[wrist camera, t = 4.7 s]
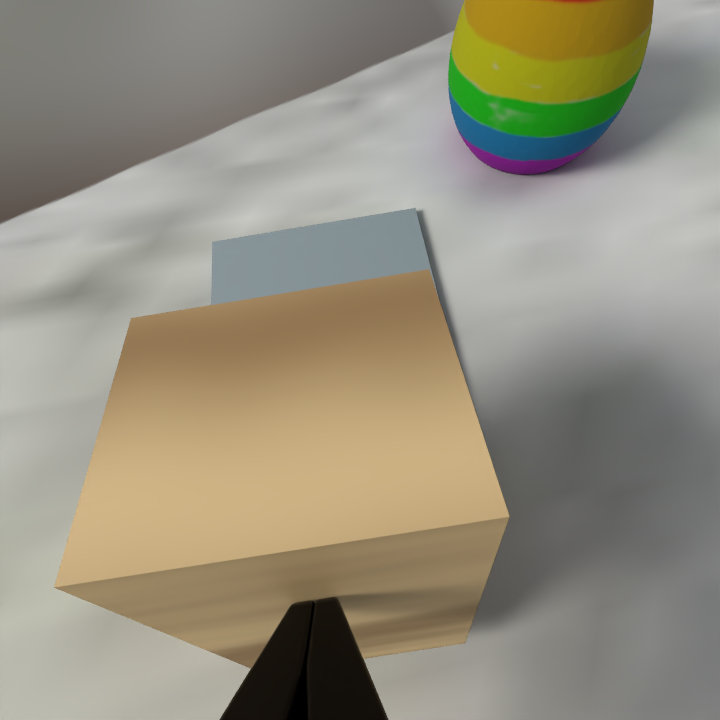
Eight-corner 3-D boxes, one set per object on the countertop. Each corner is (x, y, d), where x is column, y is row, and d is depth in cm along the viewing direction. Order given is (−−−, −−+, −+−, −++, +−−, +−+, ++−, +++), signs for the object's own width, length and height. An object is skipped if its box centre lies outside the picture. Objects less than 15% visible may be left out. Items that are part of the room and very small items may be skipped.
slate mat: (479, 462, 17) (485, 450, 16) (211, 504, 17) (194, 496, 16) (415, 212, 23) (415, 188, 22) (214, 246, 23) (202, 224, 22)
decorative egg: (513, 221, 22) (585, -32, 13) (413, 132, 26) (415, -116, 17) (639, 147, 24) (779, -126, 15) (528, 72, 27) (587, -185, 18)
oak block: (465, 643, 14) (509, 516, 6) (263, 673, 14) (53, 587, 6) (429, 484, 17) (429, 269, 9) (266, 510, 17) (131, 318, 9)
